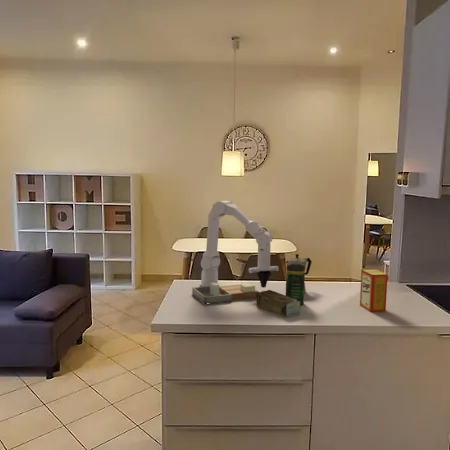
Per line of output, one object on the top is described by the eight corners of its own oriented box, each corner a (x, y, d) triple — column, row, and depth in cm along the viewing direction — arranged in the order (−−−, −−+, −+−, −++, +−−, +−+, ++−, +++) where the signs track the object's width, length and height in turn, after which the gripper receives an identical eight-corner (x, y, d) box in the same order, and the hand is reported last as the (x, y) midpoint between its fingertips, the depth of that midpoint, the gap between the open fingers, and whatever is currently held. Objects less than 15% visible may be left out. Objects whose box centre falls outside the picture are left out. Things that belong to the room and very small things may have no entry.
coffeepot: (290, 294, 197) (292, 256, 195) (279, 289, 205) (280, 253, 203) (316, 290, 204) (317, 254, 202) (304, 286, 212) (305, 251, 210)
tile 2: (240, 289, 193) (240, 284, 193) (250, 288, 195) (250, 283, 195) (245, 292, 189) (245, 286, 188) (255, 291, 190) (255, 285, 190)
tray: (192, 294, 195) (192, 287, 195) (217, 292, 200) (217, 285, 200) (204, 304, 180) (204, 297, 179) (231, 301, 184) (231, 294, 184)
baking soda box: (385, 311, 173) (387, 273, 171) (370, 312, 172) (372, 274, 170) (373, 304, 182) (375, 268, 180) (359, 305, 181) (361, 269, 179)
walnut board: (218, 292, 198) (218, 286, 198) (245, 290, 204) (245, 284, 203) (230, 300, 186) (230, 294, 185) (258, 297, 191) (258, 291, 191)
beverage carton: (286, 318, 163) (286, 302, 163) (255, 306, 179) (255, 291, 178) (300, 315, 168) (301, 298, 167) (269, 303, 184) (269, 288, 183)
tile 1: (214, 292, 196) (209, 293, 195) (214, 282, 195) (209, 282, 194) (219, 295, 192) (214, 296, 190) (219, 284, 191) (214, 285, 190)
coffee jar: (304, 306, 178) (306, 263, 176) (285, 306, 179) (286, 263, 177) (302, 300, 188) (303, 259, 186) (284, 299, 188) (285, 258, 186)
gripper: (253, 260, 187) (253, 290, 188) (282, 258, 192) (281, 287, 194) (246, 257, 193) (246, 286, 195) (274, 256, 199) (273, 284, 200)
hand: (263, 287), depth 195 cm, fingers closed
